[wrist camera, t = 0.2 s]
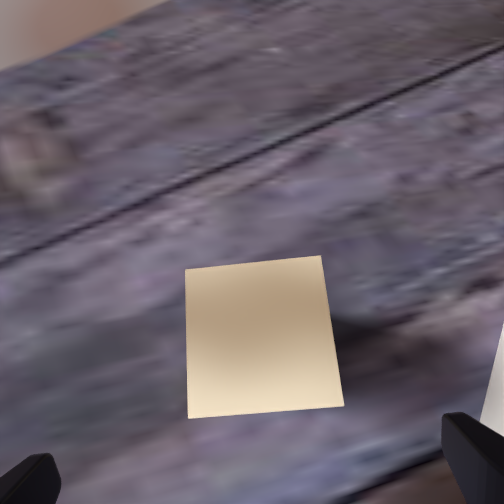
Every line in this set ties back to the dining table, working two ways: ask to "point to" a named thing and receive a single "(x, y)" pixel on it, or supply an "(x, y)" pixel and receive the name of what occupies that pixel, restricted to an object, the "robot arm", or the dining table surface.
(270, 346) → the maple pillar
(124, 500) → the dining table surface
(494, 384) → the white slab
